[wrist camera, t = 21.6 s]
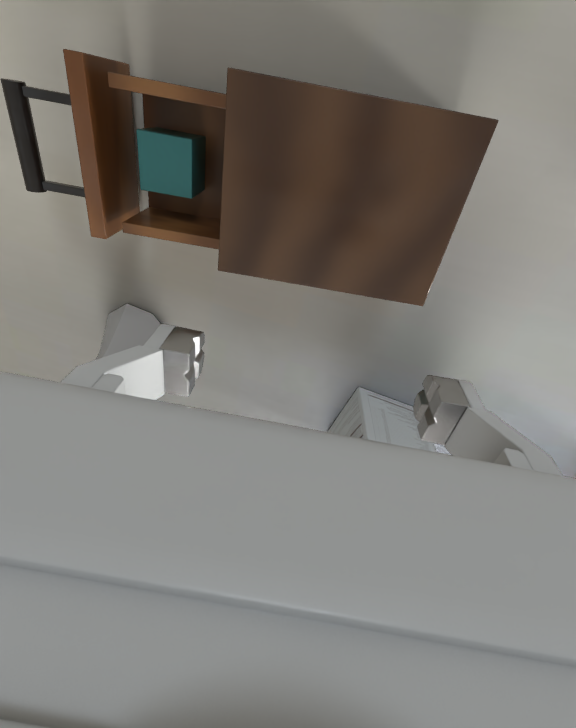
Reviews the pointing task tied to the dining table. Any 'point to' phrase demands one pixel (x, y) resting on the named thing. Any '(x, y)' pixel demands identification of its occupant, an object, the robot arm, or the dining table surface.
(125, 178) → the drawer
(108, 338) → the flask
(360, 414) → the supplement box
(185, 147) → the block
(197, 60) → the dining table surface
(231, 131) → the cabinet
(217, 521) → the robot arm
